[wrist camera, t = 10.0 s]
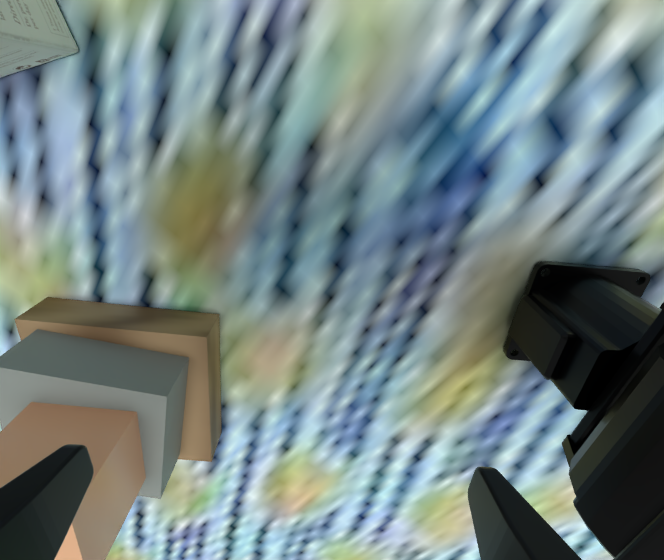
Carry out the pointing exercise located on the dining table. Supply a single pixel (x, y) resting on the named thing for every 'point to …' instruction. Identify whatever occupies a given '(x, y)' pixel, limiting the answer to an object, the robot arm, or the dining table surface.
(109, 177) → the dining table surface
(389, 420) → the dining table surface
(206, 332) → the walnut slab
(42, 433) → the terracotta cube
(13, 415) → the grey square block
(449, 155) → the dining table surface
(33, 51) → the supplement box
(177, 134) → the dining table surface
